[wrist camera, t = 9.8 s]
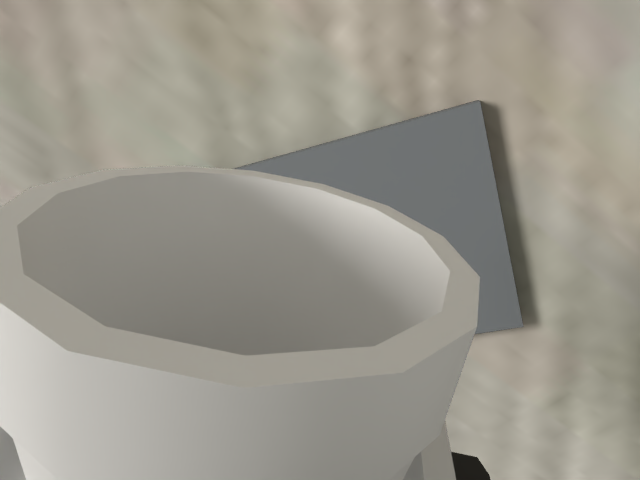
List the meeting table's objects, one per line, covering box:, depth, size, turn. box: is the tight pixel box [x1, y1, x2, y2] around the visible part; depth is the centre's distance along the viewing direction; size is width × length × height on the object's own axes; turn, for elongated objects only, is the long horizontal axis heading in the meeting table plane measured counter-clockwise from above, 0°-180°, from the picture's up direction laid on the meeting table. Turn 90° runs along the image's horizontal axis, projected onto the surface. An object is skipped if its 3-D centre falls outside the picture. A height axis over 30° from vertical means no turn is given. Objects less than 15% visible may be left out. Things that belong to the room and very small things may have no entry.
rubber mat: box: [235, 100, 523, 334], centre depth 31 cm, size 20×14×1 cm
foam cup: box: [0, 165, 480, 480], centre depth 12 cm, size 10×9×13 cm
